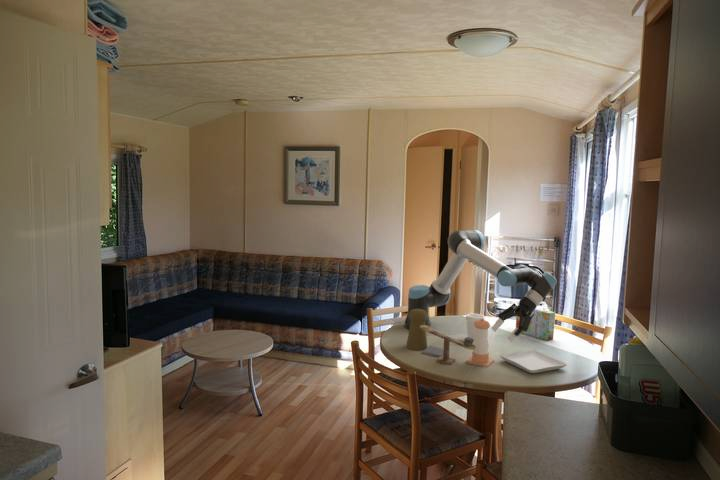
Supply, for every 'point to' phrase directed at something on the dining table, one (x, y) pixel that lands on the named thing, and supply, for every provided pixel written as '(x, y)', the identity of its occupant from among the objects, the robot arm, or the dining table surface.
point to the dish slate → (433, 351)
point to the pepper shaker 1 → (417, 330)
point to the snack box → (540, 324)
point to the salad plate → (533, 361)
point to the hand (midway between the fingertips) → (501, 335)
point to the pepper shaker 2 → (481, 341)
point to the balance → (447, 340)
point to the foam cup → (472, 324)
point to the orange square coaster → (484, 364)
